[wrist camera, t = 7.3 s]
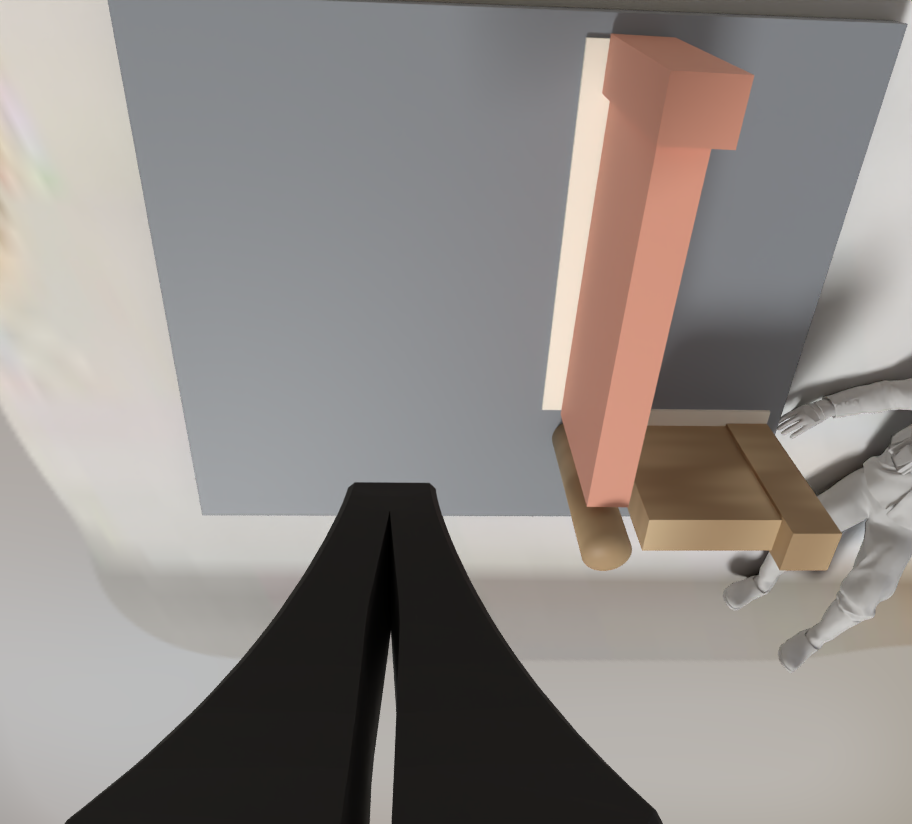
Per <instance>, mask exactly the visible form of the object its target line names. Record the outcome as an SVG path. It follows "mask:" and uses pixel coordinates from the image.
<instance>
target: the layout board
mask: <svg viewBox="0 0 912 824" xmlns="http://www.w3.org/2000/svg"><path fill="white" fill-rule="evenodd" d="M108 5H109V10H110V16H111V21H112V27H113V32H114V37H115V43H116V48H117V54H118V59H119V65H120V70H121V75H122V81H123V86H124V92H125V97H126V103H127V108H128V114H129V119H130V124H131V130H132V135H133V141H134V146H135V152H136V157H137V162H138V168H139V173H140V179H141V184H142V190H143V195H144V200H145V206H146V211H147V217H148V222H149V228H150V233H151V239H152V244H153V249H154V255H155V260H156V266H157V271H158V277H159V282H160V287H161V293H162V298H163V304H164V309H165V315H166V320H167V325H168V331H169V336H170V342H171V347H172V353H173V358H174V364H175V369H176V374H177V380H178V385H179V391H180V396H181V402H182V407H183V412H184V418H185V423H186V429H187V434H188V440H189V445H190V450H191V456H192V461H193V467H194V472H195V478H196V483H197V489H198V494H199V499H200V505H201V510H202V515H307V516H337V514H338V512H339V510H340V507H341V505H342V503H343V500H344V498H345V495H346V492H347V489H348V487H350V486H351V485H352V484H353V483H354V482H395V483H430V484H431V485H432V486H434V487H435V488H436V493H437V498H438V503H439V506H440V510H441V513H442V516H571V513H570V509H569V505H568V501H567V498H566V494H565V490H564V486H563V482H562V478H561V474H560V470H559V466H558V462H557V458H556V454H555V451H554V447H553V443H552V435H553V432H554V431H555V429H556V428H557V427H558V426H559V425H560V424H562V423H563V421H562V418H561V409H562V403H563V396H564V390H565V384H566V377H567V371H568V364H569V358H570V352H571V345H572V339H573V333H574V326H575V320H576V313H577V307H578V301H579V294H580V288H581V281H582V275H583V269H584V262H585V256H586V249H587V243H588V237H589V230H590V224H591V218H592V211H593V205H594V198H595V192H596V186H597V179H598V173H599V166H600V160H601V154H602V147H603V141H604V134H605V128H606V122H607V115H608V109H609V103H610V101H609V100H608V99H607V98H606V97H605V96H604V95H603V94H602V90H603V83H604V77H605V70H606V63H607V57H608V50H609V43H610V37H611V34H626V35H643V36H661V37H676V38H678V39H680V40H682V41H684V42H686V43H688V44H690V45H692V46H694V47H697V48H699V49H701V50H703V51H705V52H707V53H709V54H711V55H713V56H715V57H717V58H720V59H722V60H724V61H726V62H728V63H730V64H732V65H734V66H736V67H738V68H741V69H743V70H745V71H747V72H749V73H751V74H753V75H754V79H753V83H752V87H751V91H750V95H749V99H748V103H747V107H746V111H745V115H744V119H743V123H742V127H741V131H740V135H739V139H738V143H737V147H736V150H722V149H711V153H710V157H709V161H708V166H707V170H706V174H705V179H704V183H703V187H702V191H701V196H700V200H699V204H698V209H697V213H696V217H695V222H694V226H693V230H692V235H691V239H690V243H689V247H688V252H687V256H686V260H685V265H684V269H683V273H682V278H681V282H680V286H679V291H678V295H677V299H676V304H675V308H674V312H673V316H672V321H671V325H670V329H669V334H668V338H667V342H666V347H665V351H664V355H663V360H662V364H661V368H660V372H659V377H658V381H657V385H656V390H655V394H654V398H653V403H652V407H651V411H650V416H649V420H648V424H647V426H726V423H735V424H767V425H768V426H769V428H770V429H771V430H772V432H773V433H774V435H775V433H776V430H777V427H778V424H779V421H780V417H781V414H782V411H783V408H784V405H785V402H786V399H787V396H788V393H789V390H790V386H791V383H792V380H793V377H794V374H795V371H796V368H797V365H798V362H799V359H800V356H801V352H802V349H803V346H804V343H805V340H806V337H807V334H808V331H809V328H810V325H811V321H812V318H813V315H814V312H815V309H816V306H817V303H818V300H819V297H820V294H821V291H822V287H823V284H824V281H825V278H826V275H827V272H828V269H829V266H830V263H831V260H832V256H833V253H834V250H835V247H836V244H837V241H838V238H839V235H840V232H841V229H842V226H843V222H844V219H845V216H846V213H847V210H848V207H849V204H850V201H851V198H852V195H853V191H854V188H855V185H856V182H857V179H858V176H859V173H860V170H861V167H862V164H863V161H864V157H865V154H866V151H867V148H868V145H869V142H870V139H871V136H872V133H873V130H874V126H875V123H876V120H877V117H878V114H879V111H880V108H881V105H882V102H883V99H884V96H885V92H886V89H887V86H888V83H889V80H890V77H891V74H892V71H893V68H894V65H895V61H896V58H897V55H898V52H899V49H900V46H901V43H902V40H903V37H904V34H905V31H906V27H907V24H906V23H901V22H897V21H887V20H862V19H838V18H813V17H788V16H763V15H738V14H714V13H689V12H664V11H639V10H615V9H590V8H565V7H540V6H516V5H491V4H466V3H441V2H416V1H392V0H108ZM618 508H619V511H620V514H621V516H630V514H629V511H628V509H627V507H618Z"/></svg>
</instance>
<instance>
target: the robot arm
mask: <svg viewBox="0 0 912 824" xmlns="http://www.w3.org/2000/svg"><path fill="white" fill-rule="evenodd" d="M390 634H391V638H392V653H393V668H394V682H395V698H396V712H397V713H396V739H395V761H394V762H395V763H394V783H393V807H392V824H663V823H662V821H661V819H660V817H659V815H658V813H657V811H656V810H655V809H654V808H653V807H652V806H651V805H650V804H649V803H647V802H646V801H645V800H644V799H643V798H642V797H641V796H640V795H639V794H638V793H637V792H636V791H634V790H633V789H632V788H631V787H630V786H629V785H628V784H627V783H626V782H625V781H624V780H623V779H622V778H621V777H620V776H619V775H618V774H617V773H616V772H615V771H614V770H613V769H612V768H611V767H610V766H609V765H608V764H606V762H604V760H603V759H602V758H601V757H600V756H599V755H598V754H597V753H596V752H595V751H594V750H593V749H592V748H591V747H590V746H589V744H587V742H586V741H585V740H584V739H583V738H582V737H581V736H580V735H579V734H578V733H577V732H576V731H575V729H574V728H573V727H572V726H571V725H570V723H569V722H568V721H567V720H566V719H565V717H564V716H563V715H562V714H561V713H560V712H559V710H558V709H557V708H556V707H555V706H554V705H553V703H552V702H551V701H550V700H549V699H548V697H547V696H546V695H545V694H544V693H543V691H542V690H541V689H540V688H539V687H538V685H537V684H536V683H535V681H534V680H533V679H532V677H531V676H530V675H529V673H528V672H527V671H526V669H525V668H524V666H523V665H522V664H521V662H520V661H519V660H518V658H517V657H516V655H515V654H514V652H513V651H512V649H511V648H510V647H509V645H508V644H507V642H506V641H505V639H504V638H503V636H502V635H501V633H500V631H499V630H498V628H497V627H496V625H495V623H494V622H493V620H492V619H491V617H490V615H489V613H488V612H487V610H486V608H485V606H484V605H483V603H482V601H481V599H480V598H479V596H478V594H477V592H476V590H475V589H474V587H473V585H472V583H471V581H470V579H469V577H468V575H467V573H466V571H465V569H464V567H463V564H462V562H461V560H460V558H459V556H458V554H457V552H456V550H455V547H454V545H453V543H452V540H451V538H450V535H449V533H448V530H447V527H446V525H445V522H444V519H443V516H442V513H441V510H440V506H439V503H438V498H437V493H436V488H435V487H434V486H432V485H431V484H430V483H395V482H354V483H353V484H352V485H351V486H350V487H348V489H347V492H346V495H345V498H344V500H343V503H342V505H341V507H340V510H339V512H338V514H337V516H336V518H335V520H334V522H333V524H332V526H331V528H330V530H329V532H328V534H327V536H326V538H325V540H324V541H323V543H322V545H321V547H320V548H319V550H318V552H317V553H316V555H315V557H314V559H313V560H312V562H311V564H310V565H309V567H308V569H307V570H306V572H305V574H304V575H303V577H302V578H301V580H300V581H299V583H298V584H297V586H296V587H295V589H294V590H293V592H292V593H291V595H290V596H289V597H288V599H287V600H286V602H285V603H284V605H283V606H282V608H281V609H280V611H279V612H278V613H277V615H276V616H275V618H274V619H273V620H272V622H271V623H270V624H269V626H268V627H267V628H266V629H265V631H264V632H263V633H262V635H261V636H260V637H259V638H258V640H257V641H256V642H255V643H254V645H253V646H252V647H251V648H250V649H249V651H248V652H247V653H246V654H245V656H244V657H243V658H242V659H241V660H240V661H239V663H238V664H237V665H236V666H235V667H234V668H233V669H232V670H231V671H230V673H229V674H228V675H227V676H226V677H225V678H224V679H223V680H222V681H221V683H220V684H219V685H218V686H217V687H216V688H215V689H214V690H213V691H212V692H211V693H210V695H209V696H208V697H207V698H206V699H205V700H204V701H203V702H202V703H201V704H200V705H199V706H198V707H197V708H196V709H195V710H194V711H193V712H192V713H191V714H190V715H189V716H188V717H187V718H186V719H185V720H183V721H182V722H181V723H180V724H179V725H178V726H177V727H176V728H175V729H174V730H173V731H172V732H171V733H170V734H169V735H167V737H165V738H164V739H163V740H162V741H161V742H160V743H159V744H158V745H157V746H156V747H155V748H154V749H153V750H151V752H149V753H148V754H147V755H146V756H145V757H144V758H143V759H142V760H140V761H139V762H138V763H137V764H136V765H135V766H134V767H132V768H131V769H130V770H129V771H127V772H126V773H125V774H124V775H123V776H121V777H120V778H119V779H118V780H116V781H115V782H114V783H113V784H111V785H110V786H109V787H108V788H107V789H105V790H104V791H103V792H102V793H100V794H99V795H98V796H97V797H95V798H94V799H93V800H92V801H91V802H89V803H88V804H87V805H86V806H84V807H83V808H82V809H81V810H79V811H78V812H77V813H76V814H74V815H73V816H72V817H70V819H68V820H67V821H66V823H65V824H369V823H370V802H371V782H372V772H373V761H374V752H375V745H376V737H377V729H378V723H379V715H380V708H381V700H382V693H383V686H384V678H385V671H386V664H387V656H388V649H389V641H390Z"/></svg>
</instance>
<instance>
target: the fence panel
mask: <svg viewBox="0 0 912 824" xmlns="http://www.w3.org/2000/svg"><path fill="white" fill-rule="evenodd" d="M753 79H754V75H753V74H751V73H749V72H747V71H745V70H743V69H741V68H738V67H736V66H734V65H732V64H730V63H728V62H726V61H724V60H722V59H720V58H717V57H715V56H713V55H711V54H709V53H707V52H705V51H703V50H701V49H699V48H697V47H694V46H692V45H690V44H688V43H686V42H684V41H682V40H680V39H678V38H676V37H661V36H643V35H626V34H611V37H610V43H609V50H608V57H607V63H606V70H605V77H604V83H603V90H602V94H603V95H604V96H605V97H606V98H607V99H608V100H609V101H610V103H609V109H608V115H607V122H606V128H605V134H604V141H603V147H602V154H601V160H600V166H599V173H598V179H597V186H596V192H595V198H594V205H593V211H592V218H591V224H590V230H589V237H588V243H587V249H586V256H585V262H584V269H583V275H582V281H581V288H580V294H579V301H578V307H577V313H576V320H575V326H574V333H573V339H572V345H571V352H570V358H569V364H568V371H567V377H566V384H565V390H564V396H563V403H562V409H561V418H562V421H563V425H564V428H565V432H566V435H567V439H568V442H569V446H570V449H571V453H572V456H573V460H574V463H575V467H576V470H577V474H578V477H579V481H580V484H581V488H582V491H583V495H584V498H585V502H586V505H587V507H628V506H629V502H630V497H631V493H632V489H633V485H634V480H635V476H636V472H637V467H638V463H639V459H640V454H641V450H642V446H643V441H644V437H645V433H646V429H647V424H648V420H649V416H650V411H651V407H652V403H653V398H654V394H655V390H656V385H657V381H658V377H659V372H660V368H661V364H662V360H663V355H664V351H665V347H666V342H667V338H668V334H669V329H670V325H671V321H672V316H673V312H674V308H675V304H676V299H677V295H678V291H679V286H680V282H681V278H682V273H683V269H684V265H685V260H686V256H687V252H688V247H689V243H690V239H691V235H692V230H693V226H694V222H695V217H696V213H697V209H698V204H699V200H700V196H701V191H702V187H703V183H704V179H705V174H706V170H707V166H708V161H709V157H710V153H711V149H722V150H736V147H737V143H738V139H739V135H740V131H741V127H742V123H743V119H744V115H745V111H746V107H747V103H748V99H749V95H750V91H751V87H752V83H753Z"/></svg>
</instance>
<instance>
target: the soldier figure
mask: <svg viewBox="0 0 912 824" xmlns="http://www.w3.org/2000/svg"><path fill="white" fill-rule="evenodd" d="M898 409H901V410H912V378H911V379H905V380H897V381H895V380H892V381H887V380H883V381H882V382H875V383H871V384H869V385H863V386H857V387H853V388H850V389H847V390H844V391H841V392H838V393H836V394H833V395H829V396H825V397H823V399H822V400H819V401H816V402H813V403H811V404H806V405H801V406H799V407H798V408H796V409H794V410H792V411H790V412H788V413H786V414H784V415H783V416H782V417H780V421H779V423H781V422H782V421H784V420H786V419H788V418H790V419H789V420H787V421H785V422H784V423H782V424H781V425H779V426H778V427H777V430H781V429H783V428H784V427H786V426H788V425H790V424H792V423H794V422H796V421H799V422H797V423H796V424H794V425H792V426H790V427H788V428H787V429H785V430H784V431H782V432H781V434H782V435H786V434H788V433H790V432H792V431H794V430H795V429H797V428H799V427H801V426H803V427H802V428H800V429H799V430H797V431H796V432H794V433H793V434H792V435H791V436H790V438H791V439H793V438H795V437H797V436H798V435H800V434H802V433H803V432H805V431H807V430H808V429H810V428H812V427H814V426H816V425H817V424H819V423H821V422H822V421H824V420H826V419H827V418H828V417H831V416H832V417H833V418H841V417H846V416H851V415H858V414H861V413H871V414H873V413H880V412H884V411H887V410H898ZM817 498H818V499H819V500H820V502H821V503H822V505H823V506H824V508H825V509H826V511H827V512H828V514H829V515H830V517H831V518H832V519H833V521H834V522H835V524H836V525H837V527H838V528H839V530H840V531H841V532H842V531H844V530H846V529H848V528H851V527H852V526H854V525H856V524H858V523H860V522H862V521H864V520H865V519H867V521H866V522H865V535H864V540H863V542H862V545H861V548H860V550H859V553H858V555H857V557H856V560H855V563H854V566H853V570H851V571H850V573H849V574H848V576H847V577H846V578H845V579H844V580H843V581H842V583H841V586H840V591H839V592H838V593H837V595H836V596H837V597H836V599H835V600H834V601H833V603H832V604H831V605H830V606H829V607H828V609H827V610H826V612H825V614H824V616H823V618H822V620H821V622H820V623H818V624H816V625H814V626H813V627H812V628H809V629H806V630H803V631H800V632H799V633H797V634H796V635H795V636H793V637H792V638H790V639H788V640H787V641H786V642H785V643H783V644H781V646H780V648H779V652H778V656H779V661H780V662H781V664H782V665H783V666H784V668H785V669H786V670H787V671H788V672H790V673H792V672H794V671H795V670H796V669H797V668H799V666H801V665H802V664H803V663H804V661H805V660H806V659H807V658H808V657H809V656H811V655H812V654H813V653H814V652H816V651H818V650H819V649H820V648H821V647H822V645H823V644H824V643H825V642H828V641H830V640H832V639H834V638H836V637H837V636H838V635H839V634H840V633H842V632H844V631H845V630H847V629H849V628H850V627H852V626H854V625H856V624H858V623H860V622H861V621H863V620H867V619H871V618H873V617H874V615H875V608H876V606H877V605H878V604H879V603H880V602H881V601H883V600H886V599H888V598H890V597H891V596H892V595H893V593H894V592H895V590H896V587H897V585H898V582H899V579H900V577H901V575H902V573H903V570H904V569H905V567H906V565H907V563H908V562H909V560H910V558H911V555H912V424H911V425H910V426H908V427H906V428H905V429H903V430H901V431H899V432H897V433H895V434H893V435H892V436H891V440H890V444H889V446H888V448H886V450H885V451H884V453H883V454H882V455H880V456H873V457H870V458H869V459H867V460H866V461H865V462H864V463H863V468H860V469H858V470H856V471H854V472H852V473H850V474H849V475H847V476H846V477H844V478H843V479H841V480H840V481H839V482H837V483H836V484H835V485H833V486H832V487H831V488H830V489H828V490H827V491H825V492H823V493H822V494H820V495H818V496H817ZM785 571H786V570H779V568H778V566H777V565H776V563H775V561H774V559H773V557H772V556H771V554H770V552H768V555H767V557H766V559H765V561H764V563H763V564H762V565H761V567H760V571H759V575H754V576H751V577H749V578H747V579H745V580H741V581H738V582H735V583H732V584H731V585H730V586H728V587H727V588H726V589H725V590H724V592H723V598H724V601H725V603H726V604H727V605H728V607H729V608H730V609H732V610H739V609H741V608H742V607H744V606H745V605H747V604H748V603H749V602H750V601H752V600H754V599H756V598H758V597H761V596H763V595H765V594H767V593H768V592H769V591H770V590H771V589H772V587H773V586H774V585H775V583H776V582H777V580H778V578H779V576H780V574H782V573H783V572H785ZM763 592H764V593H763ZM805 634H806V635H805Z"/></svg>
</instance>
